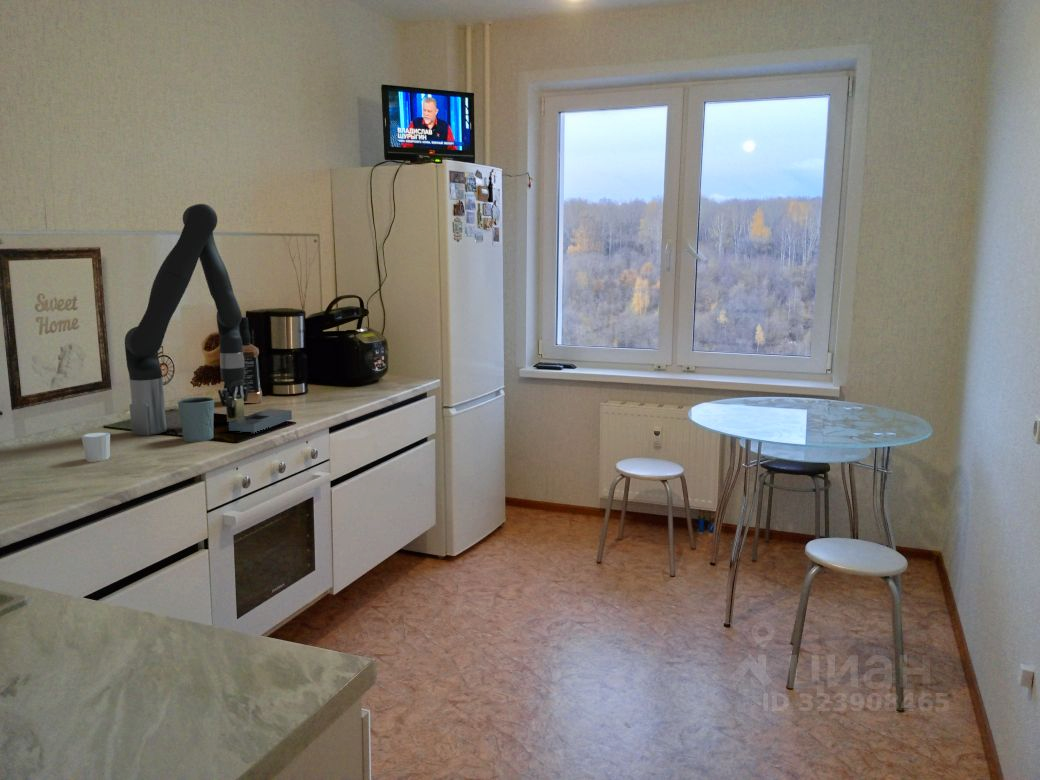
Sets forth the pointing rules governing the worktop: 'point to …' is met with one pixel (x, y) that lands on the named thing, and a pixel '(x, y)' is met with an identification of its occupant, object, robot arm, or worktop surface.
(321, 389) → the worktop surface
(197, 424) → the blue-green cup
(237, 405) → the pale green tall block
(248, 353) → the whiskey bottle
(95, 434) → the white short cylinder
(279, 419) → the rail plate
